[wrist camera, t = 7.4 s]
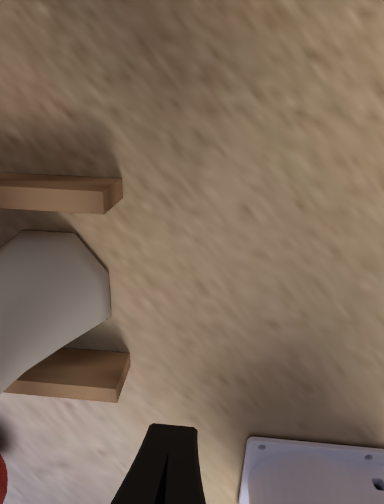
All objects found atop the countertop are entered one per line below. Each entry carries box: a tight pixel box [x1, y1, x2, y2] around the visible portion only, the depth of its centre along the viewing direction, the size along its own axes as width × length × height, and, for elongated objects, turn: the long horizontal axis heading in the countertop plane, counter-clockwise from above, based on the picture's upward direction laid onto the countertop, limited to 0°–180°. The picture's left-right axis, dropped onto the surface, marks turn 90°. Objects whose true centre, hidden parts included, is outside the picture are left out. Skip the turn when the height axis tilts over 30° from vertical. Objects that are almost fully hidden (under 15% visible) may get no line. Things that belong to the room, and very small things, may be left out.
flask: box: [0, 230, 111, 394], centre depth 15 cm, size 7×7×10 cm
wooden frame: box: [0, 172, 130, 403], centre depth 18 cm, size 10×12×3 cm
